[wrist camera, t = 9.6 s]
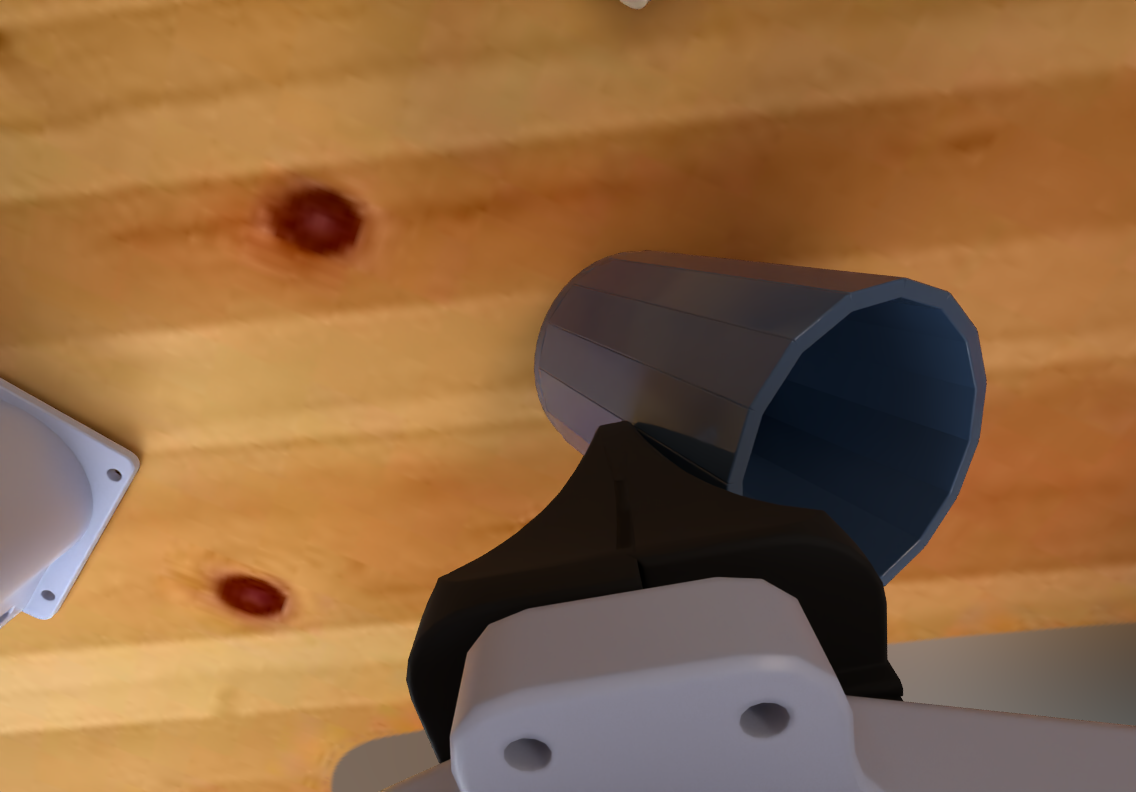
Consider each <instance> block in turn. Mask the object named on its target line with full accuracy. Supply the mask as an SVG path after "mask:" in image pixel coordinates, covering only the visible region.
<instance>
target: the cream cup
mask: <svg viewBox="0 0 1136 792" xmlns="http://www.w3.org/2000/svg"><path fill="white" fill-rule="evenodd" d="M619 1H621V2H622V3H623V4H625V5H626V6H628V7H630V8H633V9H637V10H638V9H642V8H644V7H645V6H646V5H647V4H648V3H649V2H650V1H651V0H619Z"/></svg>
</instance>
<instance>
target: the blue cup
mask: <svg viewBox="0 0 1136 792" xmlns="http://www.w3.org/2000/svg"><path fill="white" fill-rule="evenodd" d="M534 373H535V383H536V388H537V392H538V397H539V400H540V402H541V405H542V407H543V410H544V412H545V414H546V415H547V417H548V419H549V421H550V422H551V423H552V425H553V426H554V427H555V428H556V430H557V431H558V432H559V433H560V434H561V435H562V436H563V438H564V439H565V440H566V441H567V442H568V443H569V444H570V445H571V446H573V447H574V448H575V449H576V450H577V451H579V452H580V453H581V454H582V455H585V453H586V451H587V449H588V447H589V445H590V443H591V441H592V439H593V436H594V434H595V431H596V430H597V429H598V427H599V426H600V425H605V424H610V423H616V422H621V421H626V420H627V421H629V422H630V423H632V424H633V426H634V427H635V428H636V430H637V431H638V432H639V433H640V434H641V435H642V436H643V437H644V439H645V440H646V441H647V442H649V443H650V444H651V445H652V446H653V447H654V448H655V449H656V450H658V451H659V452H660V453H661V454H662V455H663V456H665V457H666V458H667V459H668V460H670V461H671V462H672V463H674V464H675V465H677V466H678V467H680V468H681V469H682V470H684V471H686V472H687V473H689V474H691V475H693V476H695V477H697V478H699V479H701V480H703V481H705V482H707V483H709V484H711V485H714V486H716V487H719V488H721V489H724V490H727V491H730V492H732V493H735V494H738V495H741V496H745V497H748V498H752V499H756V500H760V501H765V502H769V503H773V504H778V505H785V506H793V507H800V508H808V509H816V510H824V511H825V512H826V513H827V514H828V515H829V516H830V517H831V518H832V519H833V520H834V521H835V522H836V523H837V524H838V525H839V526H840V527H841V528H842V529H843V530H844V531H845V532H846V533H847V534H848V536H849V537H850V538H851V539H852V540H853V541H854V542H855V543H856V544H857V545H858V547H859V548H860V549H861V550H862V552H863V553H864V554H865V556H866V557H867V558H868V560H869V561H870V563H871V564H872V566H873V567H874V569H875V571H876V572H877V574H878V576H879V577H880V579H881V581H882V582H883V586H886V585H887V584H888V583H889V582H890V581H891V580H892V579H893V578H894V577H895V576H896V575H897V574H898V573H899V572H900V571H901V570H902V569H903V568H904V567H905V566H906V565H907V564H908V563H909V562H910V561H911V560H912V559H913V558H914V557H915V556H916V555H917V554H918V553H920V552H921V551H922V550H923V549H924V546H926V545H927V543H928V542H929V540H930V539H931V537H932V536H933V534H934V532H935V531H936V529H937V528H938V526H939V525H940V523H941V522H942V520H943V519H944V517H945V515H946V514H947V512H948V511H949V509H950V508H951V506H952V505H953V503H954V502H955V500H956V498H957V496H958V495H959V492H960V489H961V487H962V484H963V482H964V479H965V476H966V474H967V471H968V468H969V466H970V463H971V460H972V458H973V455H974V453H975V450H976V447H977V445H978V442H979V440H978V439H979V438H980V432H981V424H982V416H983V408H984V400H985V393H986V385H987V383H986V381H987V379H986V374H985V368H984V363H983V357H982V352H981V346H980V341H979V335H978V331H977V328H976V327H975V326H974V324H973V323H972V322H971V320H970V319H969V318H968V316H967V315H966V313H965V312H964V311H963V309H962V308H961V307H960V305H959V304H958V303H957V301H956V300H955V298H954V297H953V296H952V294H951V293H949V292H948V291H945V290H942V289H939V288H936V287H933V286H930V285H927V284H924V283H921V282H918V281H915V280H912V279H908V278H905V277H895V276H886V275H876V274H867V273H858V272H848V271H839V270H830V269H820V268H811V267H801V266H792V265H783V264H773V263H764V262H755V261H745V260H736V259H726V258H717V257H708V256H698V255H689V254H679V253H670V252H661V251H651V250H644V251H631V252H623V253H618V254H615V255H611V256H608V257H605V258H603V259H601V260H599V261H596V262H595V263H593V264H591V265H590V266H588V267H587V268H585V269H583V270H582V271H581V272H580V273H579V274H577V275H576V276H575V277H574V278H572V280H571V281H570V282H569V283H568V284H567V285H566V286H565V287H564V288H563V289H562V290H561V292H560V293H559V295H558V296H557V297H556V299H555V300H554V302H553V303H552V305H551V307H550V309H549V310H548V312H547V314H546V316H545V319H544V321H543V324H542V326H541V329H540V333H539V336H538V340H537V344H536V351H535V363H534Z"/></svg>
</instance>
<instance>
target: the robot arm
mask: <svg viewBox="0 0 1136 792" xmlns="http://www.w3.org/2000/svg"><path fill="white" fill-rule="evenodd" d="M139 466H140V462H139V459H138V457H137V456H136V455H135V454H134V453H133V452H131V451H130V450H128V449H126V448H124V447H122V446H121V445H119V444H117V443H115V442H114V441H112V440H110V439H108V438H106V437H105V436H103V435H101V434H99V433H98V432H96V431H94V430H92V429H91V428H89V427H87V426H85V425H83V424H82V423H80V422H78V421H76V420H75V419H73V418H71V417H69V416H67V415H66V414H64V413H62V412H60V411H59V410H57V409H55V408H53V407H51V406H50V405H48V404H46V403H44V402H43V401H41V400H39V399H37V398H35V397H34V396H32V395H30V394H28V393H27V392H25V391H23V390H21V389H19V388H18V387H16V386H14V385H12V384H11V383H9V382H7V381H5V380H3V379H2V378H0V628H2V627H3V626H4V625H5V624H6V623H8V622H9V621H10V620H11V619H12V618H14V617H15V616H16V615H17V614H18V613H20V612H21V611H23V612H25V613H27V614H29V615H31V616H33V617H35V618H38V619H49V618H51V617H52V616H53V615H54V614H56V613H57V612H58V611H59V609H60V607H61V605H62V604H63V602H64V600H65V598H66V597H67V595H68V593H69V591H70V590H71V588H72V586H73V584H74V582H75V581H76V579H77V577H78V575H79V574H80V572H81V570H82V568H83V567H84V565H85V563H86V561H87V559H88V558H89V556H90V554H91V552H92V551H93V549H94V547H95V545H96V544H97V542H98V540H99V538H100V536H101V535H102V533H103V531H104V529H105V528H106V526H107V524H108V522H109V521H110V519H111V517H112V515H113V513H114V512H115V510H116V508H117V506H118V505H119V503H120V501H121V499H122V498H123V496H124V494H125V492H126V490H127V489H128V487H129V485H130V483H131V482H132V480H133V478H134V476H135V475H136V473H137V471H138V469H139ZM115 470H118V471H119V472H120V473H121V475H119V474H118V473H116V471H115ZM406 681H407V685H408V688H409V692H410V696H411V700H412V702H413V704H414V707H415V709H416V711H417V714H418V716H419V718H420V720H421V723H422V725H423V727H424V730H425V732H426V734H427V736H428V739H429V741H430V743H431V745H432V748H433V750H434V752H435V755H436V757H437V759H438V762H439V763H440V764H438V765H436V766H434V767H432V768H430V769H427V770H425V771H423V772H421V773H418V774H416V775H414V776H412V777H410V778H408V779H406V780H403V781H401V782H399V783H396V784H394V785H392V786H390V787H388V788H385V789H383V790H381V791H379V792H1136V726H1130V725H1121V724H1111V723H1102V722H1092V721H1083V720H1073V719H1064V718H1055V717H1046V716H1036V715H1026V714H1017V713H1008V712H998V711H989V710H979V709H970V708H961V707H951V706H941V705H932V704H922V703H913V702H904V701H903V700H902V698H901V697H900V696H903V687H902V684H901V681H900V679H899V678H898V676H897V674H896V673H895V671H894V669H893V668H892V666H891V665H890V663H889V662H888V660H887V602H886V597H885V592H884V587H883V582H882V581H881V579H880V577H879V576H878V574H877V572H876V571H875V569H874V567H873V566H872V564H871V563H870V561H869V560H868V558H867V557H866V556H865V554H864V553H863V552H862V550H861V549H860V548H859V547H858V545H857V544H856V543H855V542H854V541H853V540H852V539H851V538H850V537H849V536H848V534H847V533H846V532H845V531H844V530H843V529H842V528H841V527H840V526H839V525H838V524H837V523H836V522H835V521H834V520H833V519H832V518H831V517H830V516H829V515H828V514H827V513H826V512H825V511H824V510H816V509H808V508H800V507H793V506H785V505H778V504H773V503H769V502H765V501H760V500H756V499H752V498H748V497H745V496H741V495H738V494H735V493H732V492H730V491H727V490H724V489H721V488H719V487H716V486H714V485H711V484H709V483H707V482H705V481H703V480H701V479H699V478H697V477H695V476H693V475H691V474H689V473H687V472H686V471H684V470H682V469H681V468H680V467H678V466H677V465H675V464H674V463H672V462H671V461H670V460H668V459H667V458H666V457H665V456H663V455H662V454H661V453H660V452H659V451H658V450H656V449H655V448H654V447H653V446H652V445H651V444H650V443H649V442H647V441H646V440H645V439H644V437H643V436H642V435H641V434H640V433H639V432H638V431H637V430H636V428H635V427H634V426H633V424H632V423H630V422H629V421H627V420H626V421H621V422H616V423H610V424H605V425H600V426H599V427H598V429H597V430H596V431H595V434H594V436H593V439H592V441H591V443H590V445H589V447H588V449H587V451H586V453H585V455H584V456H583V458H582V460H581V461H580V463H579V465H578V467H577V468H576V470H575V472H574V473H573V474H572V476H571V477H570V479H569V480H568V482H567V483H566V484H565V486H564V487H563V489H562V490H561V491H560V493H559V494H558V495H557V496H556V497H555V498H554V499H553V500H552V501H551V503H550V504H549V505H548V506H547V507H546V508H545V509H544V510H543V511H542V512H541V513H540V514H538V515H537V516H536V517H535V518H534V519H533V520H531V521H530V522H529V523H528V524H527V525H526V526H524V527H523V528H522V529H521V530H520V531H518V532H517V533H516V534H515V535H513V536H512V537H510V538H509V539H508V540H506V541H505V542H503V543H502V544H500V545H499V546H497V547H496V548H494V549H493V550H491V551H489V552H488V553H486V554H484V555H483V556H481V557H479V558H478V559H476V560H474V561H472V562H470V563H468V564H466V565H464V566H462V567H460V568H458V569H456V570H454V571H452V572H450V573H448V574H446V575H444V576H442V577H440V578H439V579H438V581H437V583H436V586H435V588H434V590H433V592H432V594H431V596H430V598H429V601H428V603H427V606H426V608H425V611H424V613H423V616H422V619H421V622H420V625H419V628H418V631H417V634H416V637H415V641H414V644H413V647H412V650H411V653H410V656H409V659H408V668H407V677H406Z"/></svg>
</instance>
